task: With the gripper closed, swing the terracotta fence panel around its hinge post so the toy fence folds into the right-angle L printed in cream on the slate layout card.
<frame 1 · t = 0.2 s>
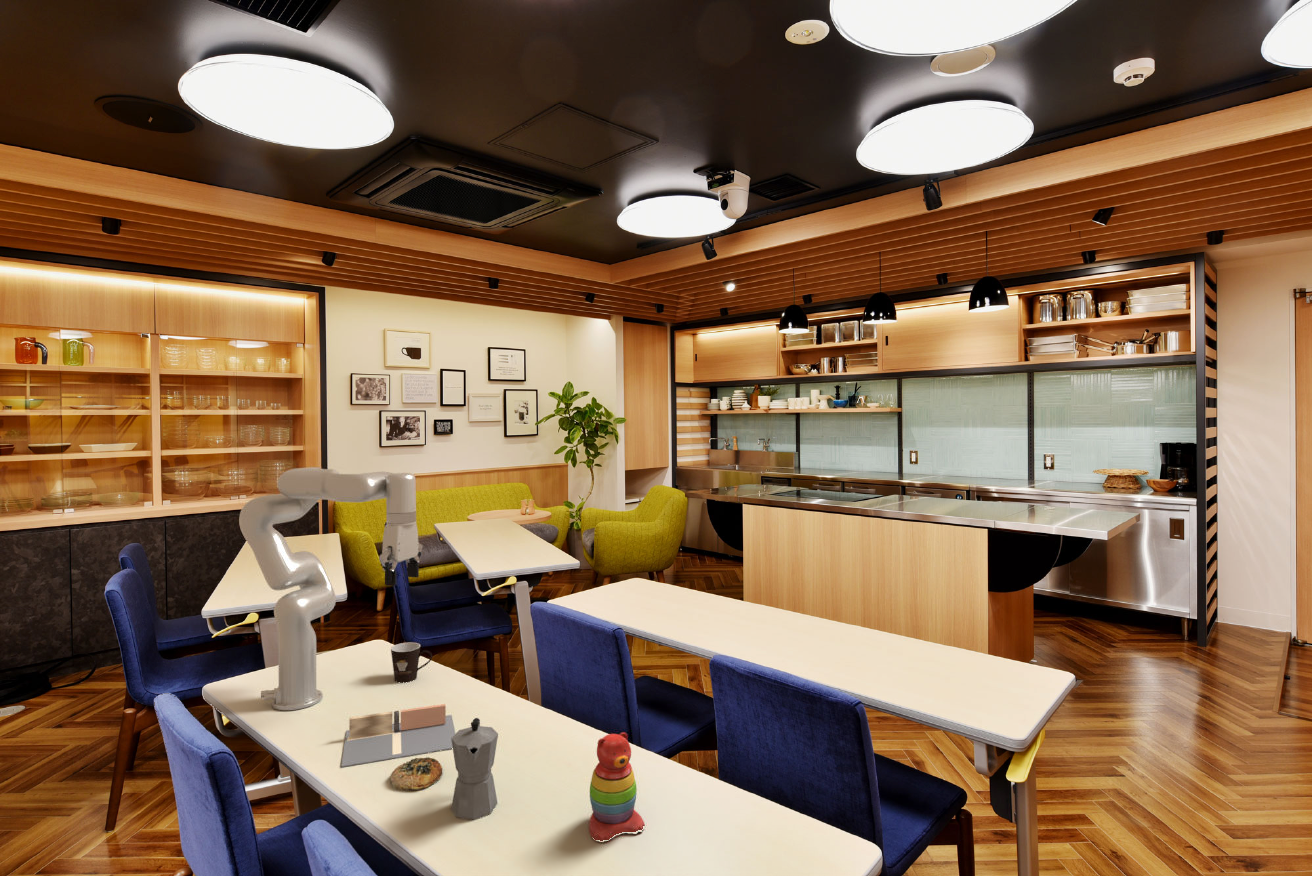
hand: (402, 581, 180), 37 cm above the table, tool pointing down, fingers open, 9 cm apart
stacking bear: (613, 825, 132), on the table
fixed fence section: (371, 736, 168), resting on layout card
coffee mug: (409, 680, 205), on the table
bread roll: (416, 780, 149), on the table
layout card: (400, 739, 166), on the table
coffeepot: (474, 805, 139), on the table
folding fence panel: (423, 717, 173), point 3 cm above the table, hinge at 0.0°
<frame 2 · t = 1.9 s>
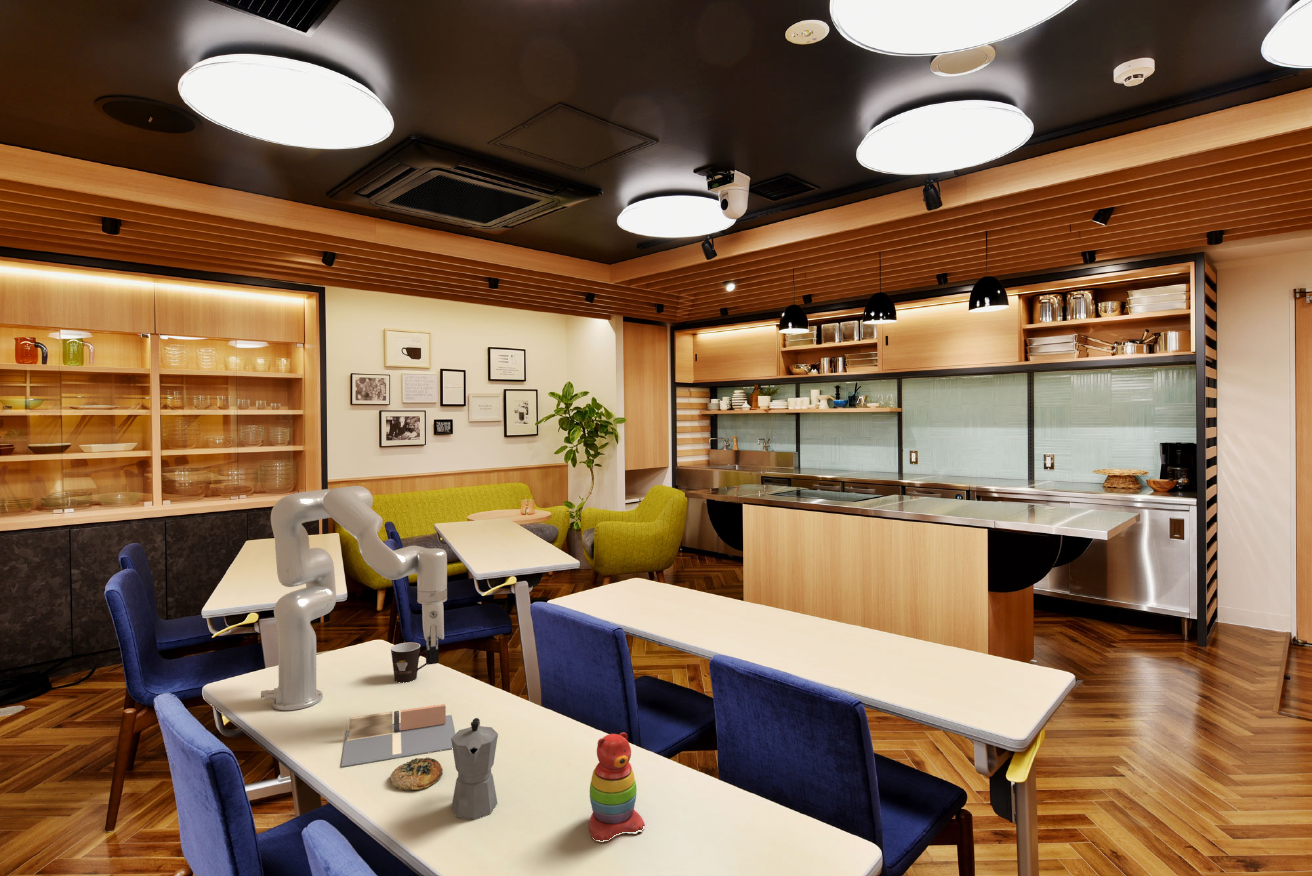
hand: (432, 662, 178), 15 cm above the table, tool pointing down, fingers closed
nothing on the table moved.
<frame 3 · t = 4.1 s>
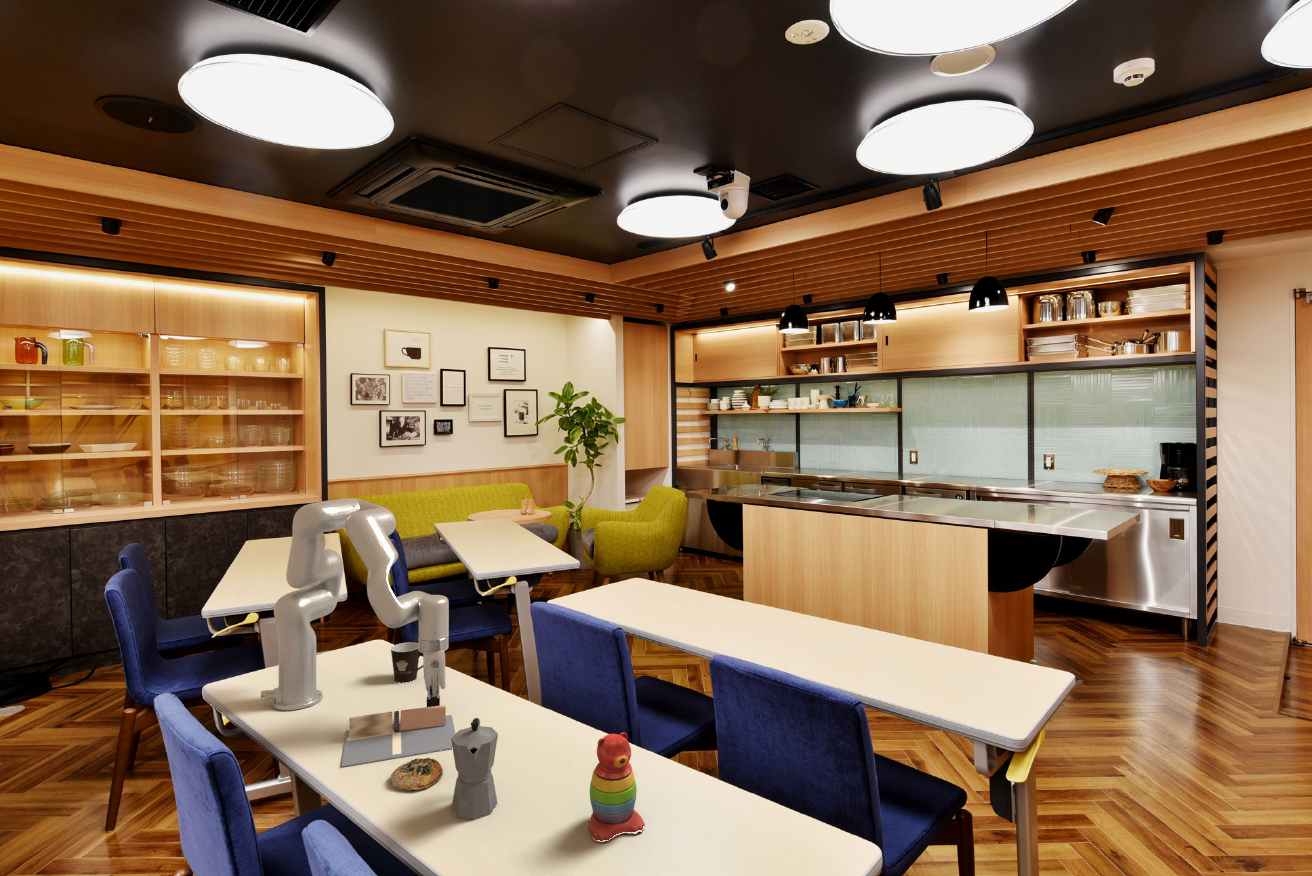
hand: (433, 711, 175), 3 cm above the table, tool pointing down, fingers closed
folding fence panel: (423, 717, 172), point 3 cm above the table, hinge at -3.8°, touching gripper
everything else where it was.
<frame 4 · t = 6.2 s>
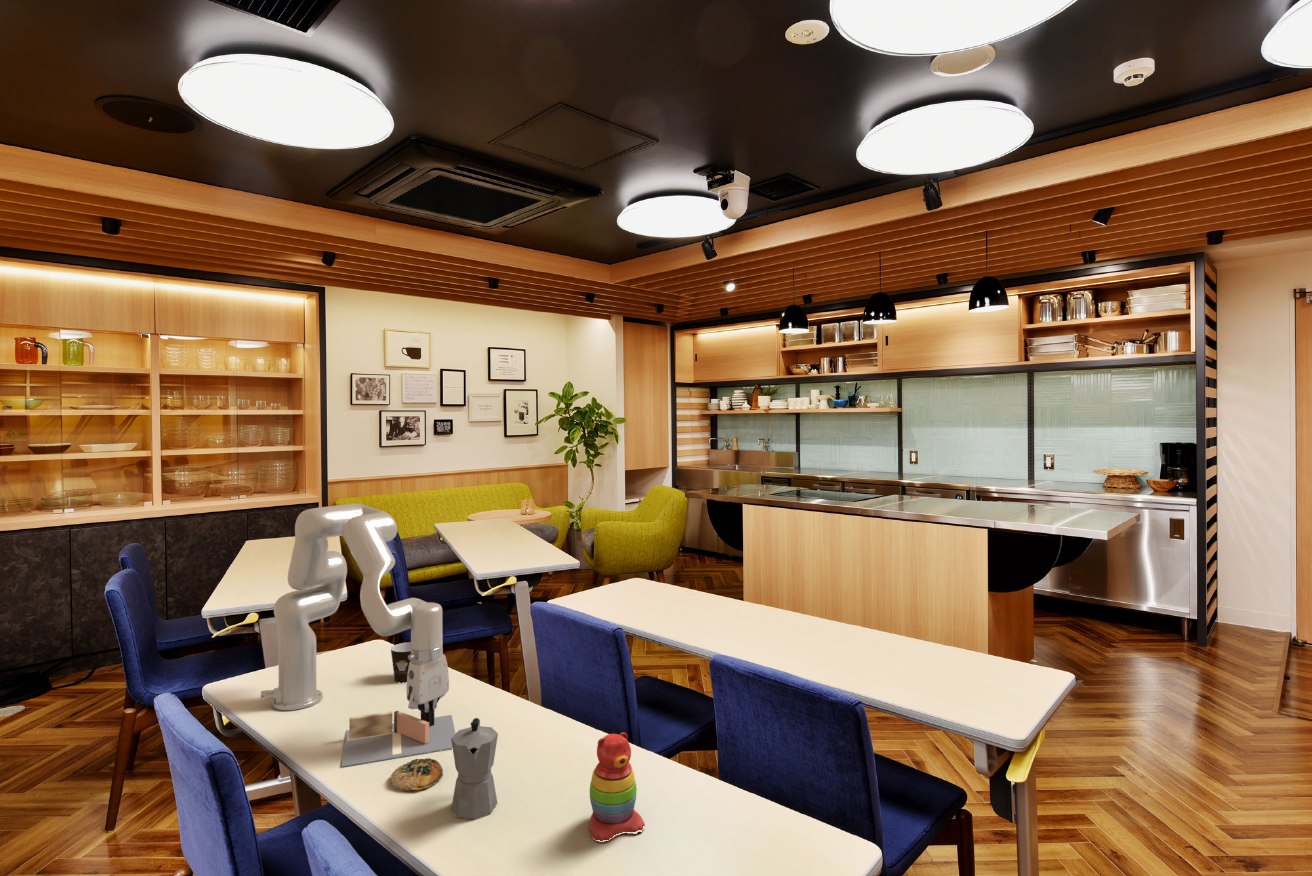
hand: (427, 725, 167), 3 cm above the table, tool pointing down, fingers closed
folding fence panel: (412, 727, 167), point 3 cm above the table, hinge at -54.4°, touching gripper
everything else where it was.
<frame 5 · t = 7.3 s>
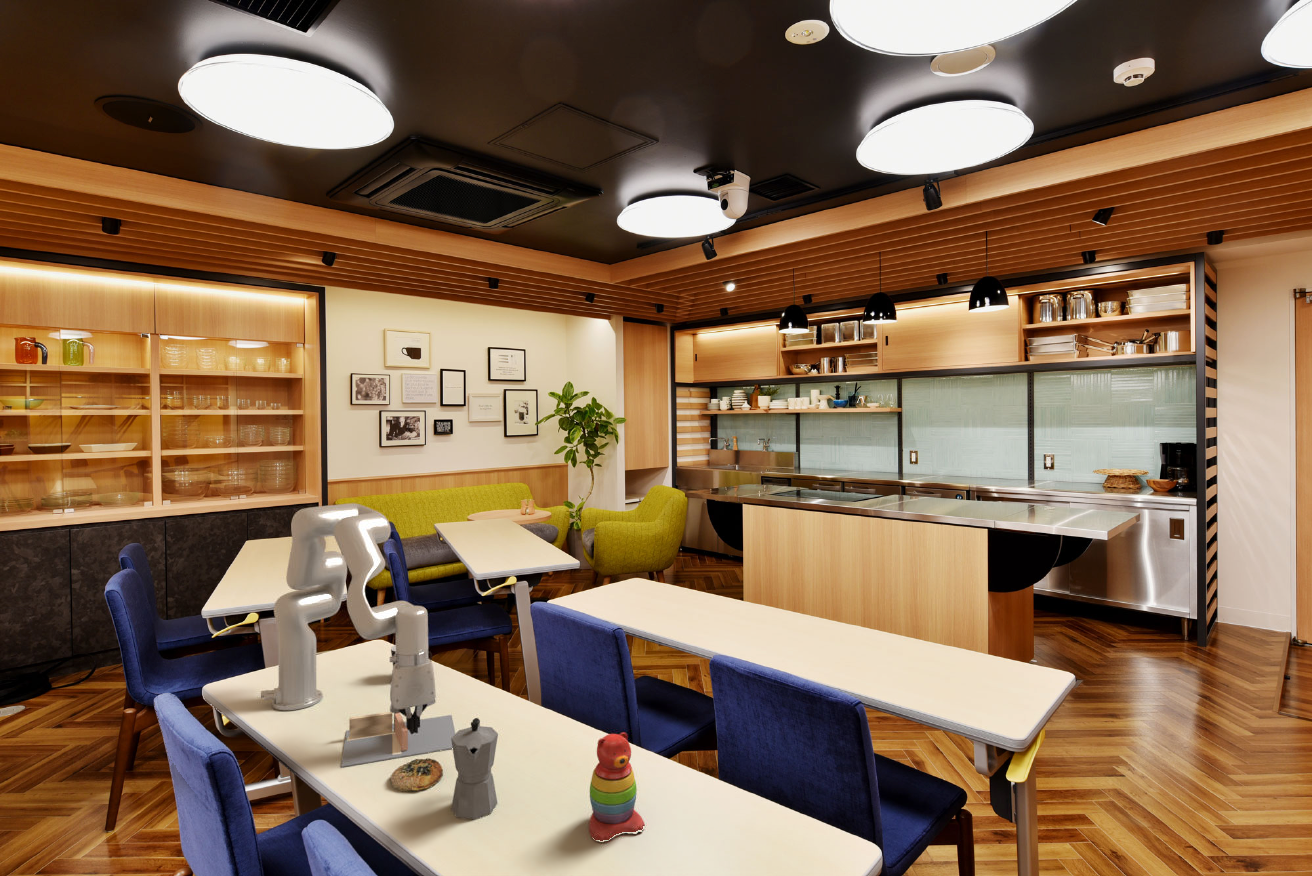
hand: (413, 731, 164), 3 cm above the table, tool pointing down, fingers closed
folding fence panel: (401, 731, 165), point 3 cm above the table, hinge at -81.2°, touching gripper
everything else where it was.
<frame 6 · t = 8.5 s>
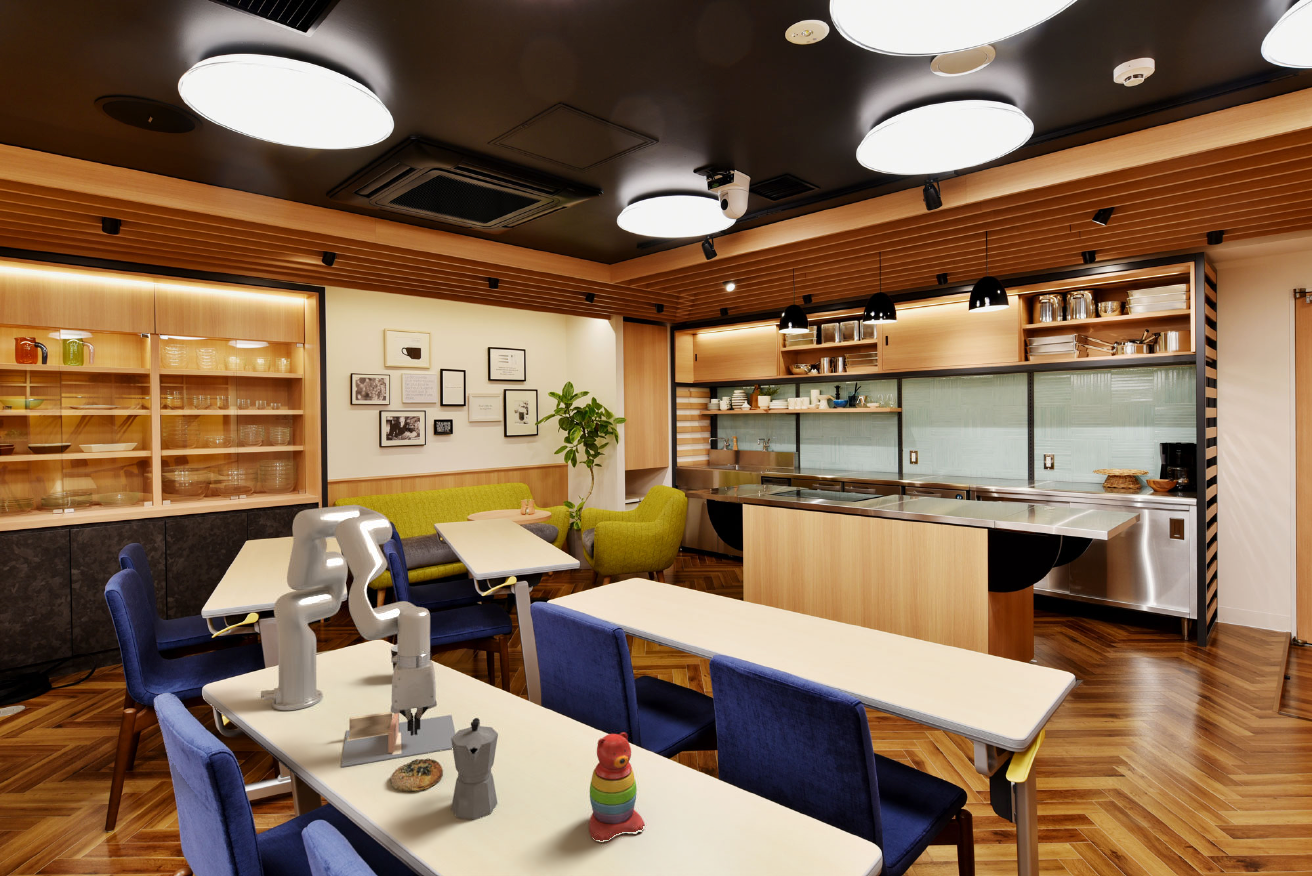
hand: (413, 732, 163), 3 cm above the table, tool pointing down, fingers closed
folding fence panel: (393, 732, 164), point 3 cm above the table, hinge at -96.3°
everything else where it was.
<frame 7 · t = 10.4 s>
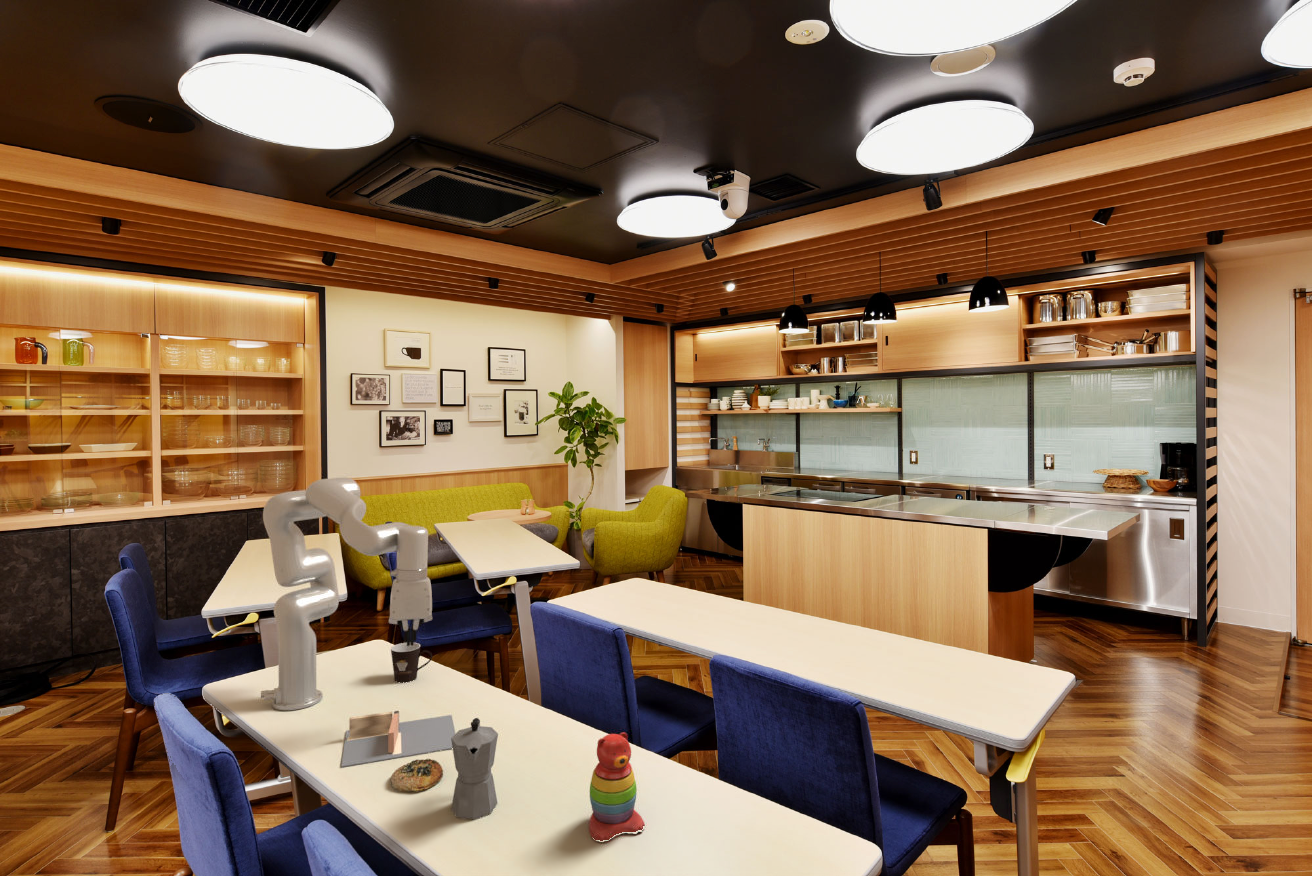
hand: (410, 643, 173), 22 cm above the table, tool pointing down, fingers closed
nothing on the table moved.
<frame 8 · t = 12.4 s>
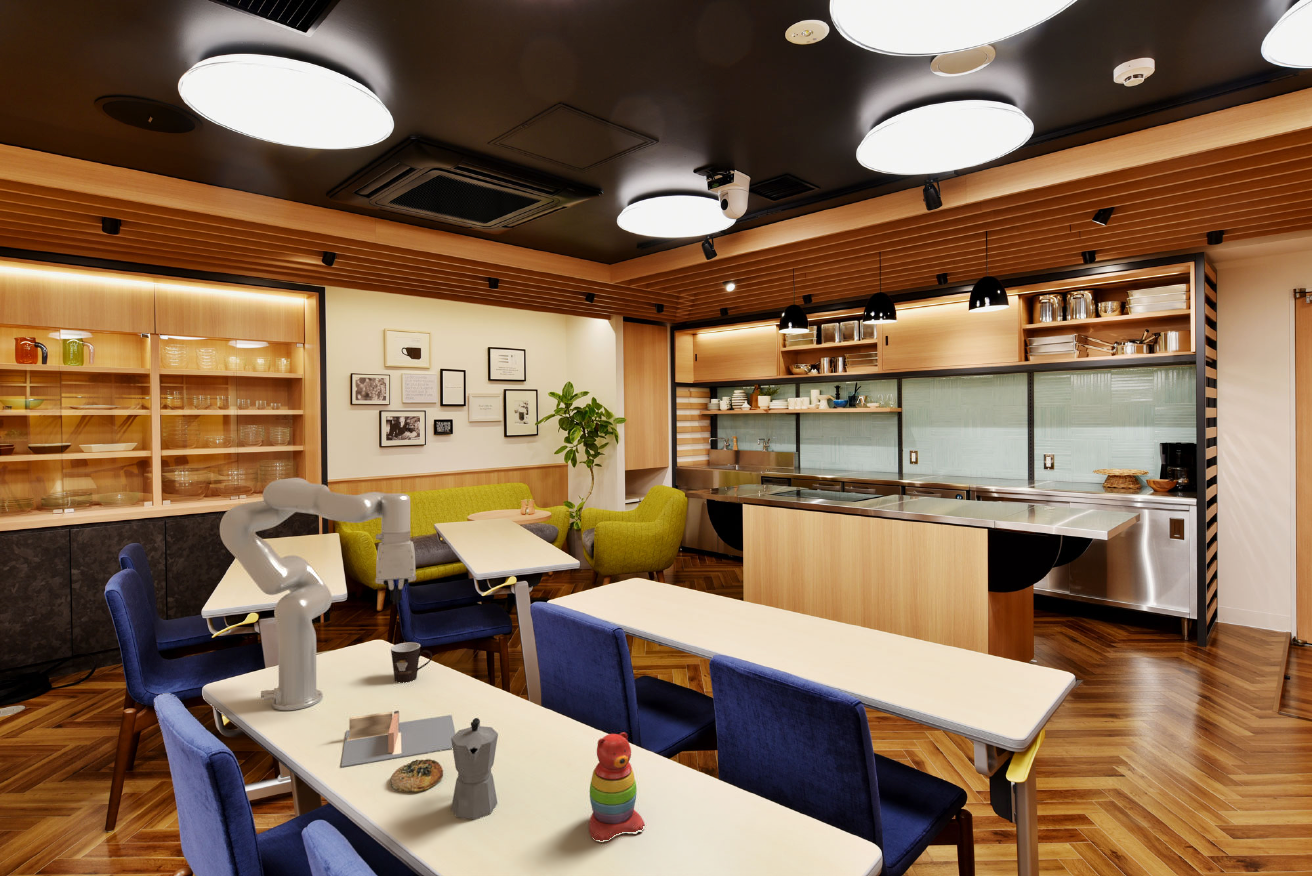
hand: (396, 602, 186), 29 cm above the table, tool pointing down, fingers closed
nothing on the table moved.
at the end: folding fence panel at -96° (first picture: +0°); bread roll moved 1.1 cm from its start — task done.
